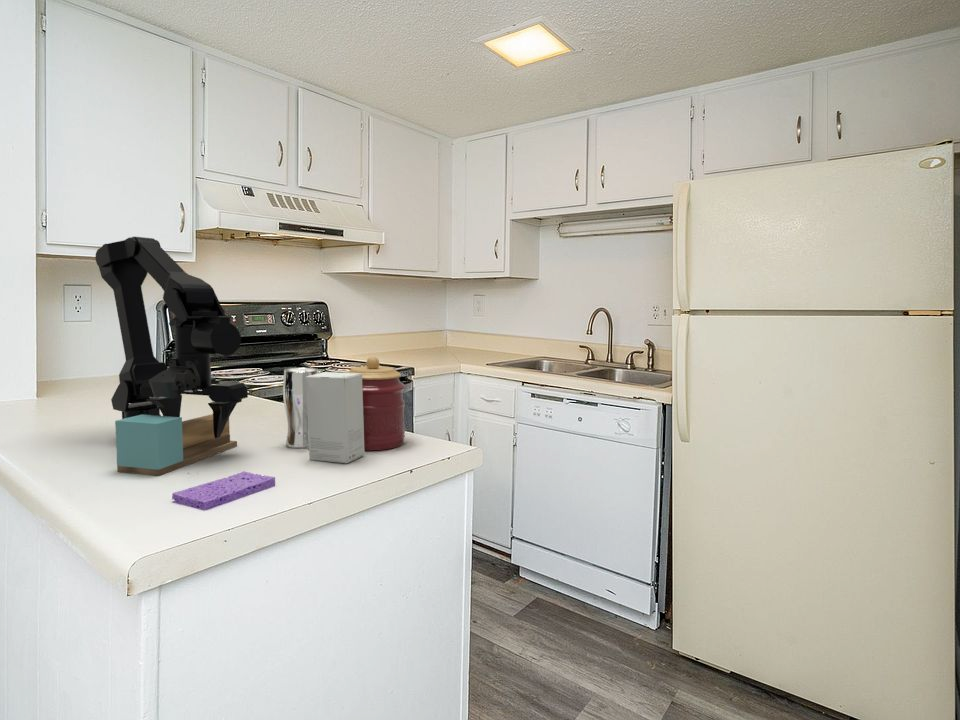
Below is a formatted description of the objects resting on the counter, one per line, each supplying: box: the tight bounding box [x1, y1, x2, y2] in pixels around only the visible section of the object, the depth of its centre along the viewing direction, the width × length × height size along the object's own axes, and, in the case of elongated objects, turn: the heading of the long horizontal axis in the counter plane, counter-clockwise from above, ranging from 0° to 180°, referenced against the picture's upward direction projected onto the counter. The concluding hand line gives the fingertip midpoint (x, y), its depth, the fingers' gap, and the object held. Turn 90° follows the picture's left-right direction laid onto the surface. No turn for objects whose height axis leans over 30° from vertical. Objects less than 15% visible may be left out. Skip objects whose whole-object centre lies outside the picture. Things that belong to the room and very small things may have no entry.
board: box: [117, 434, 238, 477], centre depth 103 cm, size 8×20×2 cm, turn 167°
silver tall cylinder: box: [282, 367, 320, 449], centre depth 114 cm, size 7×7×15 cm
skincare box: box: [306, 371, 366, 464], centre depth 105 cm, size 8×7×16 cm
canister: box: [345, 356, 406, 451], centre depth 116 cm, size 13×13×18 cm
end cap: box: [114, 414, 183, 470], centre depth 96 cm, size 8×6×8 cm
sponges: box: [171, 471, 276, 511], centre depth 85 cm, size 7×13×2 cm, turn 153°
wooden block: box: [182, 413, 231, 449], centre depth 106 cm, size 4×14×5 cm, turn 163°
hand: (195, 435), depth 107 cm, fingers open, 9 cm apart
